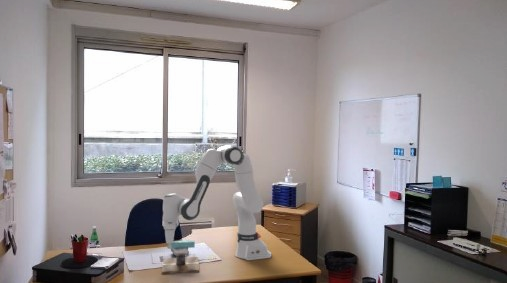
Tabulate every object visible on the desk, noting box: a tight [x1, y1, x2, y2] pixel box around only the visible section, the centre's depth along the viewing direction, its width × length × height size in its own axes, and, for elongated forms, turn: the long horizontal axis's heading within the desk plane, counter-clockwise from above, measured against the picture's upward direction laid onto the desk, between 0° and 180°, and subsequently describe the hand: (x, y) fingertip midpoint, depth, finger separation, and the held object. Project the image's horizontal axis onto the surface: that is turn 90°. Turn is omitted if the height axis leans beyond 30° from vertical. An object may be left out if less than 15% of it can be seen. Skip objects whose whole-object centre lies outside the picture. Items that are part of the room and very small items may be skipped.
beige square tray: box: [161, 255, 200, 275], centre depth 210 cm, size 20×20×7 cm
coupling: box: [166, 240, 196, 257], centre depth 209 cm, size 8×15×7 cm, turn 100°
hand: (170, 246), depth 208 cm, fingers open, 5 cm apart
